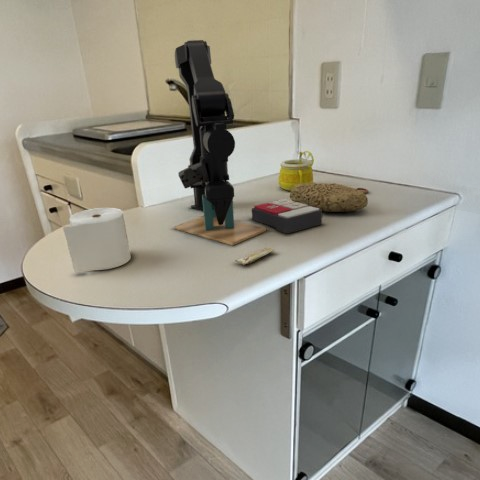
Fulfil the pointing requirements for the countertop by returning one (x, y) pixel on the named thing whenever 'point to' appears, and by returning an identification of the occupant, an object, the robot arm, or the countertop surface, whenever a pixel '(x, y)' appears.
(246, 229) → the wooden board
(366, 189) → the key
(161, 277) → the countertop surface
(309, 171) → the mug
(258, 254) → the snack bar
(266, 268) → the countertop surface
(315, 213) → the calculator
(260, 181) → the countertop surface
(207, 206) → the letter H
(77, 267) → the toilet tissue
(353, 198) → the sponge
